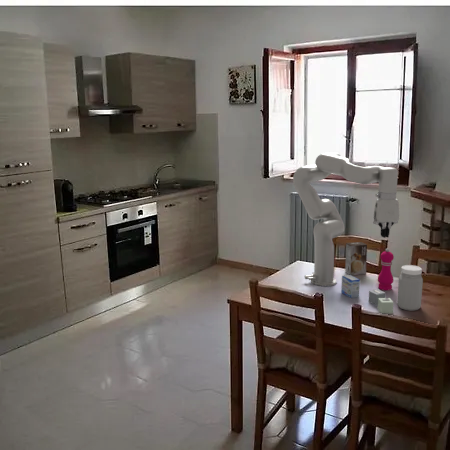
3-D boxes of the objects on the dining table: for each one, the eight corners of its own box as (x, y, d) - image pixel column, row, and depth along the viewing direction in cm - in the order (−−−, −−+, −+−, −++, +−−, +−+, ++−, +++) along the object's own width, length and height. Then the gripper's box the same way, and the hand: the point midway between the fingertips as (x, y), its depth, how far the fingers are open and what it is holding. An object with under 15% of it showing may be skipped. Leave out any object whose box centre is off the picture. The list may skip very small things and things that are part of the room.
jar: (425, 309, 214) (428, 269, 210) (406, 312, 212) (409, 272, 208) (411, 301, 223) (414, 263, 219) (392, 304, 221) (394, 265, 217)
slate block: (376, 305, 220) (376, 294, 219) (368, 301, 225) (369, 290, 224) (385, 303, 222) (385, 292, 221) (377, 299, 227) (378, 289, 226)
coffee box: (360, 270, 268) (362, 241, 265) (366, 274, 262) (367, 244, 259) (344, 271, 266) (345, 242, 263) (350, 275, 260) (351, 245, 257)
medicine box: (340, 292, 236) (341, 275, 234) (348, 291, 237) (349, 274, 235) (351, 298, 228) (352, 280, 227) (359, 297, 230) (360, 279, 228)
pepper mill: (393, 291, 237) (396, 250, 232) (378, 290, 238) (380, 250, 234) (392, 286, 243) (394, 246, 239) (376, 285, 245) (378, 246, 240)
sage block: (381, 313, 211) (381, 302, 210) (377, 308, 216) (378, 297, 215) (392, 313, 211) (393, 301, 210) (389, 308, 216) (389, 297, 215)
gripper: (374, 198, 213) (372, 239, 217) (407, 196, 215) (404, 238, 219) (367, 195, 220) (365, 235, 224) (399, 194, 222) (396, 234, 226)
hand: (384, 236), depth 222 cm, fingers closed
